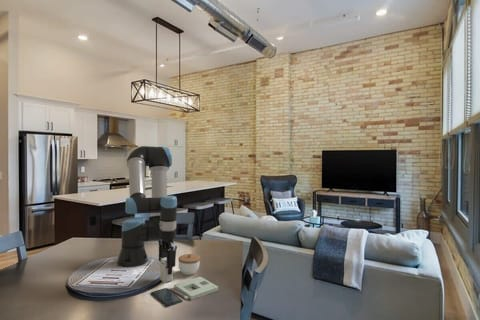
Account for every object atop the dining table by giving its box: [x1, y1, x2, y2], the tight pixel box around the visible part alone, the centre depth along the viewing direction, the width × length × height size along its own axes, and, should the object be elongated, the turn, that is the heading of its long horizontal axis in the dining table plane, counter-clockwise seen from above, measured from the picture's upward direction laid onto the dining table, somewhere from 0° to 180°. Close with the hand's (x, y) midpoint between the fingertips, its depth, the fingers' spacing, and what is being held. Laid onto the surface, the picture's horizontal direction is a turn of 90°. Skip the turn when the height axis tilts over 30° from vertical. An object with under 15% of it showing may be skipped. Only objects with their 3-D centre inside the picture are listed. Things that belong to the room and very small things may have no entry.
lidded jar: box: [177, 253, 201, 276], centre depth 146 cm, size 11×11×9 cm
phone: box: [150, 287, 183, 308], centre depth 120 cm, size 14×7×1 cm, turn 42°
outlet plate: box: [173, 276, 219, 301], centre depth 129 cm, size 14×14×2 cm
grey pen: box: [166, 286, 190, 300], centre depth 124 cm, size 13×1×1 cm, turn 50°
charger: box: [159, 257, 174, 284], centre depth 137 cm, size 4×4×10 cm
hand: (166, 278), depth 137 cm, fingers closed on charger, 4 cm apart
